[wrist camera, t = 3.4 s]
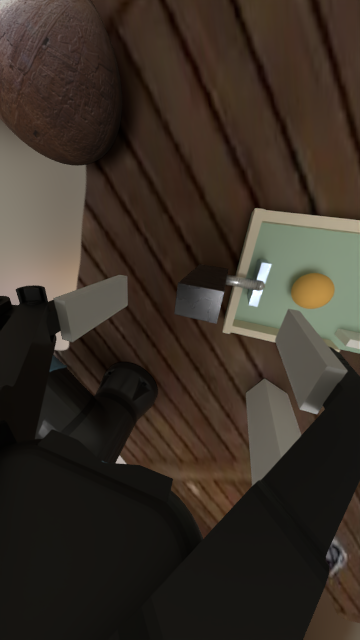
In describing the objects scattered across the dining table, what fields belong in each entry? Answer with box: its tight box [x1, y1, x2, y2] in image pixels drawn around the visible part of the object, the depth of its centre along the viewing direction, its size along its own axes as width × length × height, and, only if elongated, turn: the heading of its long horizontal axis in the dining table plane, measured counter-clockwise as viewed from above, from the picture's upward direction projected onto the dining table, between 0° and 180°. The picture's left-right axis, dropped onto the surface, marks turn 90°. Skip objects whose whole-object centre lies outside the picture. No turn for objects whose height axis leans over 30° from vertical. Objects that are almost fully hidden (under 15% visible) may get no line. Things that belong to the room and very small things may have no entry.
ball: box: [291, 273, 335, 309], centre depth 26 cm, size 5×5×5 cm
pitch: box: [223, 208, 360, 353], centre depth 27 cm, size 25×18×5 cm
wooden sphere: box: [0, 0, 122, 165], centre depth 21 cm, size 15×15×15 cm
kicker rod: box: [175, 259, 272, 324], centre depth 23 cm, size 9×6×16 cm, turn 83°
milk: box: [246, 378, 301, 486], centre depth 30 cm, size 6×6×22 cm
